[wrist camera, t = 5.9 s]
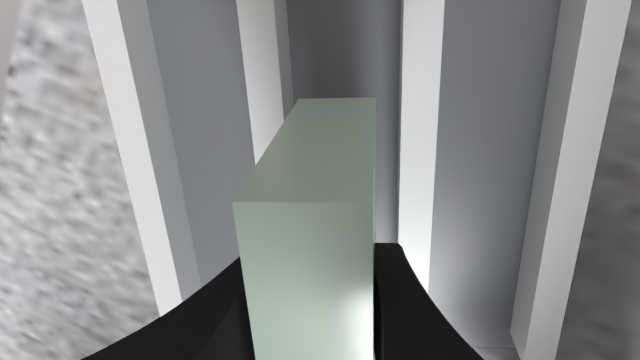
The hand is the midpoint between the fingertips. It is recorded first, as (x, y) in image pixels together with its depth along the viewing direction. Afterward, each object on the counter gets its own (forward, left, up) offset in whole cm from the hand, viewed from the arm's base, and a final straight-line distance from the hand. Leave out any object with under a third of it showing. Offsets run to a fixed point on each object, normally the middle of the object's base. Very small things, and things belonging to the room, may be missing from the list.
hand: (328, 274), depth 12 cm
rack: (0, 0, -8) cm, 8 cm away
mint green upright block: (0, 0, -4) cm, 4 cm away
